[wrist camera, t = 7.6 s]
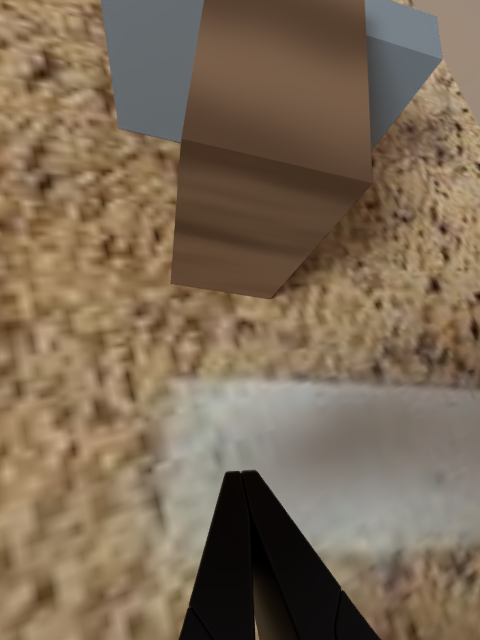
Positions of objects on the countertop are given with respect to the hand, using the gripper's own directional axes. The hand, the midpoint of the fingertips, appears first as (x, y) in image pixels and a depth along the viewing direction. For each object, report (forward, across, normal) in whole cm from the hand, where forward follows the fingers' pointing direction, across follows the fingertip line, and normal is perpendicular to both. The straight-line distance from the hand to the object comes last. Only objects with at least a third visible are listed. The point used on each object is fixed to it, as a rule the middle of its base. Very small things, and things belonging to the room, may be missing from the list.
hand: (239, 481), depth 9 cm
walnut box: (+16, -1, -4) cm, 17 cm away
